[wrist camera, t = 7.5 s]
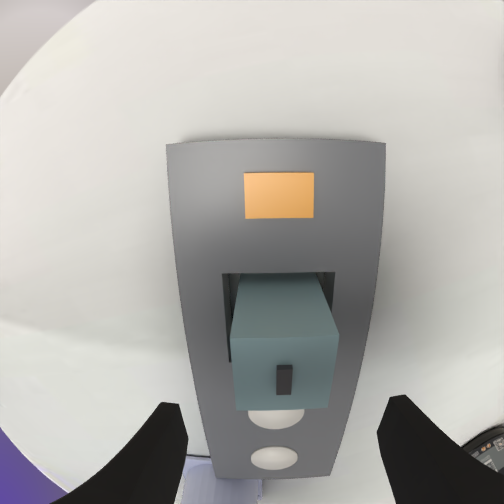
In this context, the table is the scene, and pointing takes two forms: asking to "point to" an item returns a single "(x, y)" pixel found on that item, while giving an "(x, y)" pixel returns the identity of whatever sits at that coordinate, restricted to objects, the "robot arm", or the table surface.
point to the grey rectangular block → (282, 343)
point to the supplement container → (489, 449)
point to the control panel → (274, 261)
